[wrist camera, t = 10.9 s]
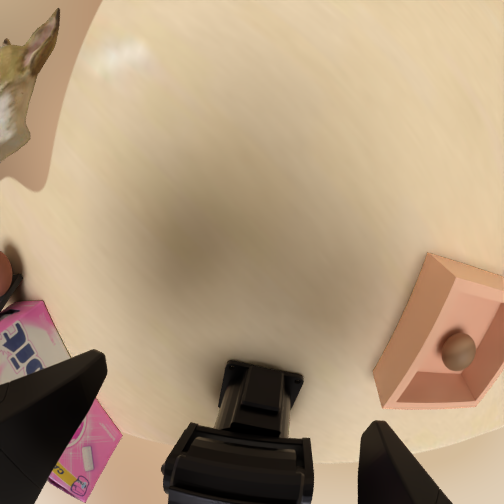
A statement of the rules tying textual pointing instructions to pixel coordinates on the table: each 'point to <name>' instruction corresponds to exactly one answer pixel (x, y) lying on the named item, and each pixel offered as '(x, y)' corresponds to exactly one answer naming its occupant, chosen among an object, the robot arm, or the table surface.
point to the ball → (458, 352)
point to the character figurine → (7, 280)
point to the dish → (444, 339)
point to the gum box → (42, 356)
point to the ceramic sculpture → (22, 82)
